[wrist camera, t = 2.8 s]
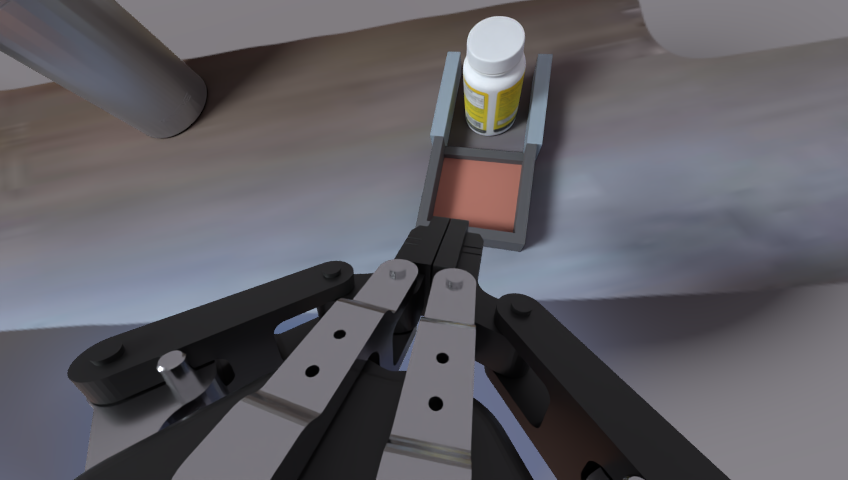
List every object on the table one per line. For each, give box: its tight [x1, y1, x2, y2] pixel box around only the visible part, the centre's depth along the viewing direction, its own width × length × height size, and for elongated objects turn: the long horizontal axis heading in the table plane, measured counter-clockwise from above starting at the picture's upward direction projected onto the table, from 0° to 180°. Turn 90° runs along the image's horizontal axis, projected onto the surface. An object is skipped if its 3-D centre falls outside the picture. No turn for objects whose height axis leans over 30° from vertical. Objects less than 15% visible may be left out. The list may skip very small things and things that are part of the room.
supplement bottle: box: [463, 16, 526, 136], centre depth 25 cm, size 5×5×8 cm
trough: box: [430, 52, 553, 160], centre depth 28 cm, size 9×9×2 cm
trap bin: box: [415, 136, 537, 252], centre depth 26 cm, size 9×9×2 cm
